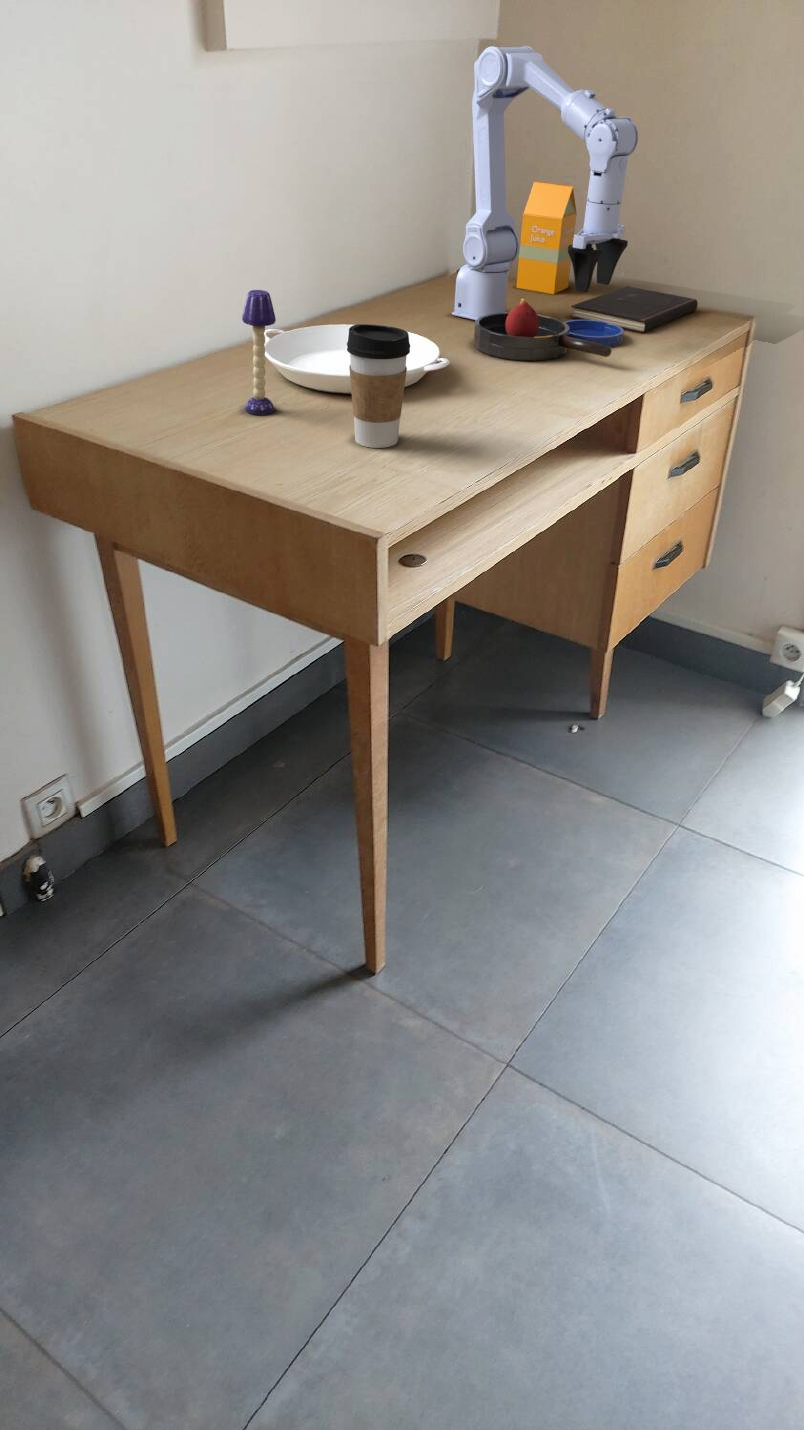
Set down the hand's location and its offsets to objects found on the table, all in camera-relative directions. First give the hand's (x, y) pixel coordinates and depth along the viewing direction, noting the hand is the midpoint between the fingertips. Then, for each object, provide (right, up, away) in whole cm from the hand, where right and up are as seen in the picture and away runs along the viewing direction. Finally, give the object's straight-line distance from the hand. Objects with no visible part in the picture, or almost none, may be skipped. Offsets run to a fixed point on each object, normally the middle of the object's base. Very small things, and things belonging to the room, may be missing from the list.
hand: (592, 287), depth 182 cm
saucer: (+1, -5, +10) cm, 12 cm away
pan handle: (-2, -12, -3) cm, 13 cm away
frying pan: (-12, -9, +4) cm, 16 cm away
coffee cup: (-37, -36, -36) cm, 63 cm away
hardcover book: (+13, +5, +26) cm, 29 cm away
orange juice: (-3, +17, +42) cm, 45 cm away
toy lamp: (-54, -30, -28) cm, 67 cm away
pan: (-41, -19, -11) cm, 47 cm away
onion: (-12, -9, +4) cm, 16 cm away
